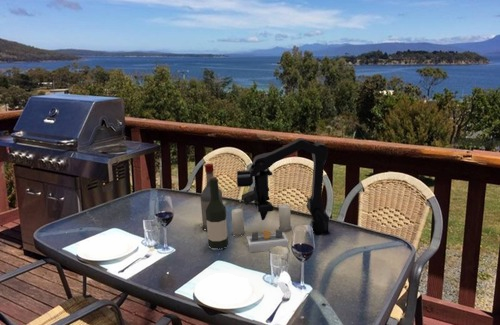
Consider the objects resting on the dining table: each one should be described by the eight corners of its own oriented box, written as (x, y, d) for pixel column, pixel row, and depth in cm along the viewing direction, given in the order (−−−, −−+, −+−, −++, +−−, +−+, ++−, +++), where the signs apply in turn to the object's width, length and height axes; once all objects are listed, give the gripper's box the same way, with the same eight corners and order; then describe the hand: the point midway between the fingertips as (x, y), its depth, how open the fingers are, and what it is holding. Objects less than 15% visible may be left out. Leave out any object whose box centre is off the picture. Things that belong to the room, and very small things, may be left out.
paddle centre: (269, 236, 175) (269, 230, 174) (270, 238, 173) (270, 231, 173) (263, 237, 174) (263, 230, 174) (264, 239, 173) (264, 232, 172)
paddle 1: (257, 238, 174) (257, 231, 173) (258, 239, 173) (258, 232, 172) (251, 238, 174) (251, 232, 173) (252, 240, 172) (251, 233, 172)
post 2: (290, 226, 192) (289, 203, 190) (292, 231, 187) (292, 208, 184) (277, 227, 192) (276, 204, 189) (280, 232, 186) (279, 209, 183)
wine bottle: (204, 248, 175) (198, 179, 167) (215, 240, 182) (210, 173, 174) (221, 252, 171) (216, 181, 163) (232, 243, 178) (227, 175, 170)
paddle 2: (281, 235, 175) (281, 229, 174) (282, 237, 174) (282, 230, 173) (275, 236, 175) (275, 229, 174) (276, 237, 174) (276, 231, 173)
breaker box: (284, 238, 180) (283, 231, 179) (288, 248, 171) (288, 240, 170) (246, 242, 178) (246, 235, 177) (249, 252, 169) (249, 244, 169)
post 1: (244, 230, 190) (243, 207, 187) (245, 236, 184) (244, 212, 182) (231, 232, 189) (230, 209, 187) (232, 237, 184) (231, 213, 181)
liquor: (222, 231, 191) (218, 167, 183) (202, 231, 191) (197, 168, 183) (224, 223, 200) (220, 161, 192) (205, 223, 200) (200, 162, 192)
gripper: (239, 180, 186) (241, 213, 190) (245, 194, 168) (247, 230, 172) (264, 178, 187) (266, 211, 191) (272, 191, 169) (274, 227, 173)
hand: (262, 219), depth 182 cm, fingers closed
